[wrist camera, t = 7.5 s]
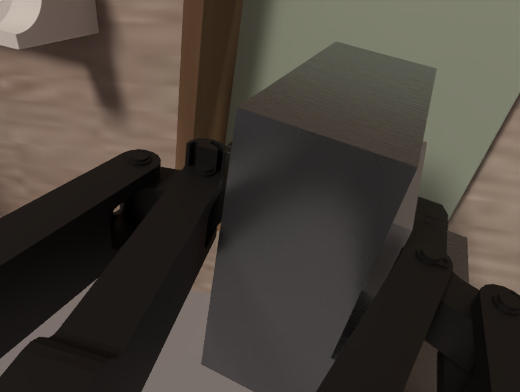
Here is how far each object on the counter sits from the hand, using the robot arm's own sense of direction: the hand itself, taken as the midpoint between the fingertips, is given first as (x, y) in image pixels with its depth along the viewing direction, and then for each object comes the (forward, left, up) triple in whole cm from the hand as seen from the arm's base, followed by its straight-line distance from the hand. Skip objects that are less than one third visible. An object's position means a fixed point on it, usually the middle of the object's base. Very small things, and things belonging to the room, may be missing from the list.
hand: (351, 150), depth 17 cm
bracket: (0, -1, -1) cm, 1 cm away
